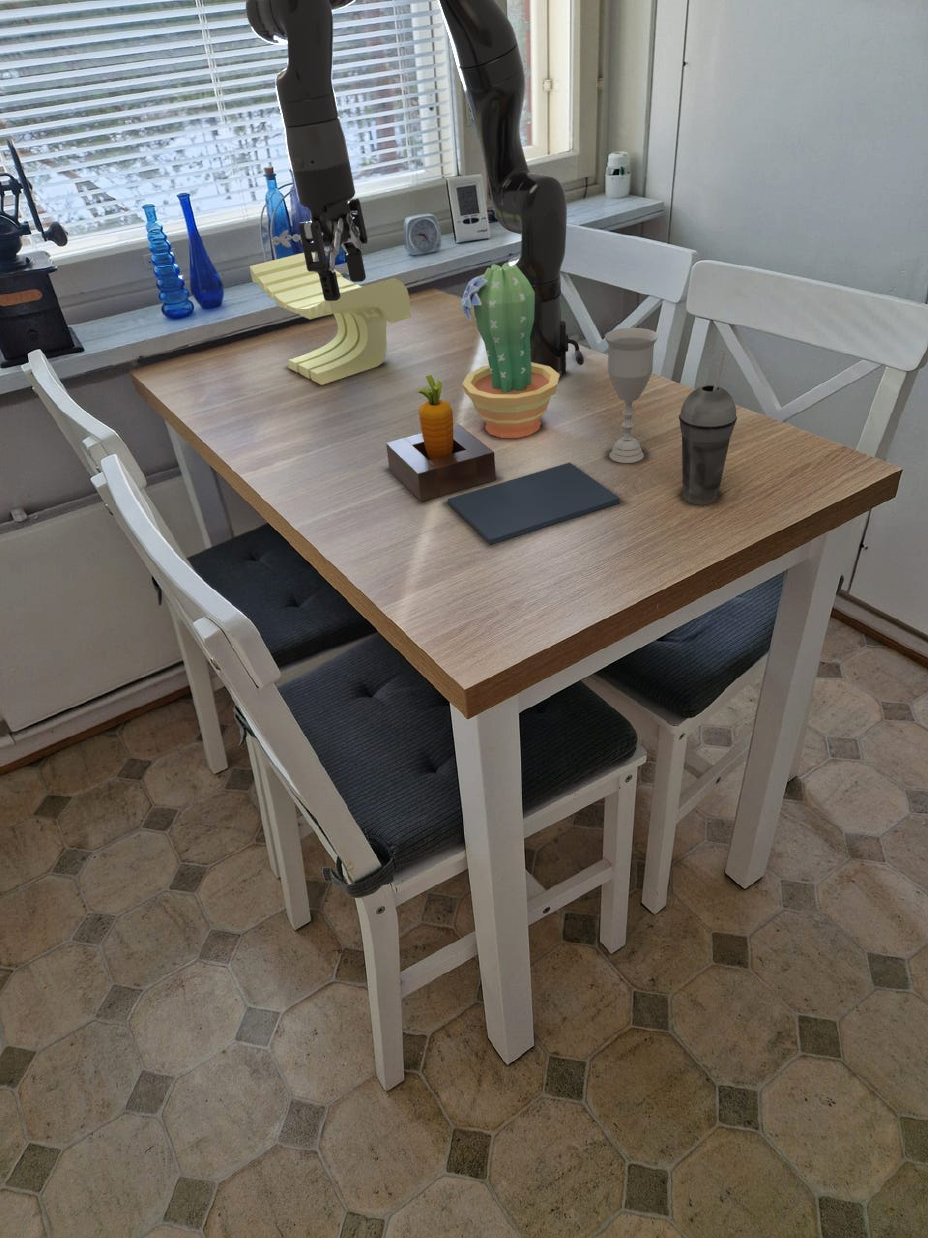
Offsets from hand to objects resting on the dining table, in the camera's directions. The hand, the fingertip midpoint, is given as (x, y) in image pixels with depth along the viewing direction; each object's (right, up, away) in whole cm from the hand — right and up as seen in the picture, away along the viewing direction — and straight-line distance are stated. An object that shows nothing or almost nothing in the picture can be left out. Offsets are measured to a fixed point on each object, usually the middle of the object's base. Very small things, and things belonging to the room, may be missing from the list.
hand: (346, 290), depth 123 cm
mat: (+26, -30, 0) cm, 39 cm away
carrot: (+13, -24, +9) cm, 29 cm away
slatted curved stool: (-8, +4, +50) cm, 51 cm away
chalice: (+41, -21, +9) cm, 47 cm away
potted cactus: (+24, -15, +21) cm, 35 cm away
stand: (+13, -24, +9) cm, 29 cm away
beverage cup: (+49, -29, -2) cm, 57 cm away
